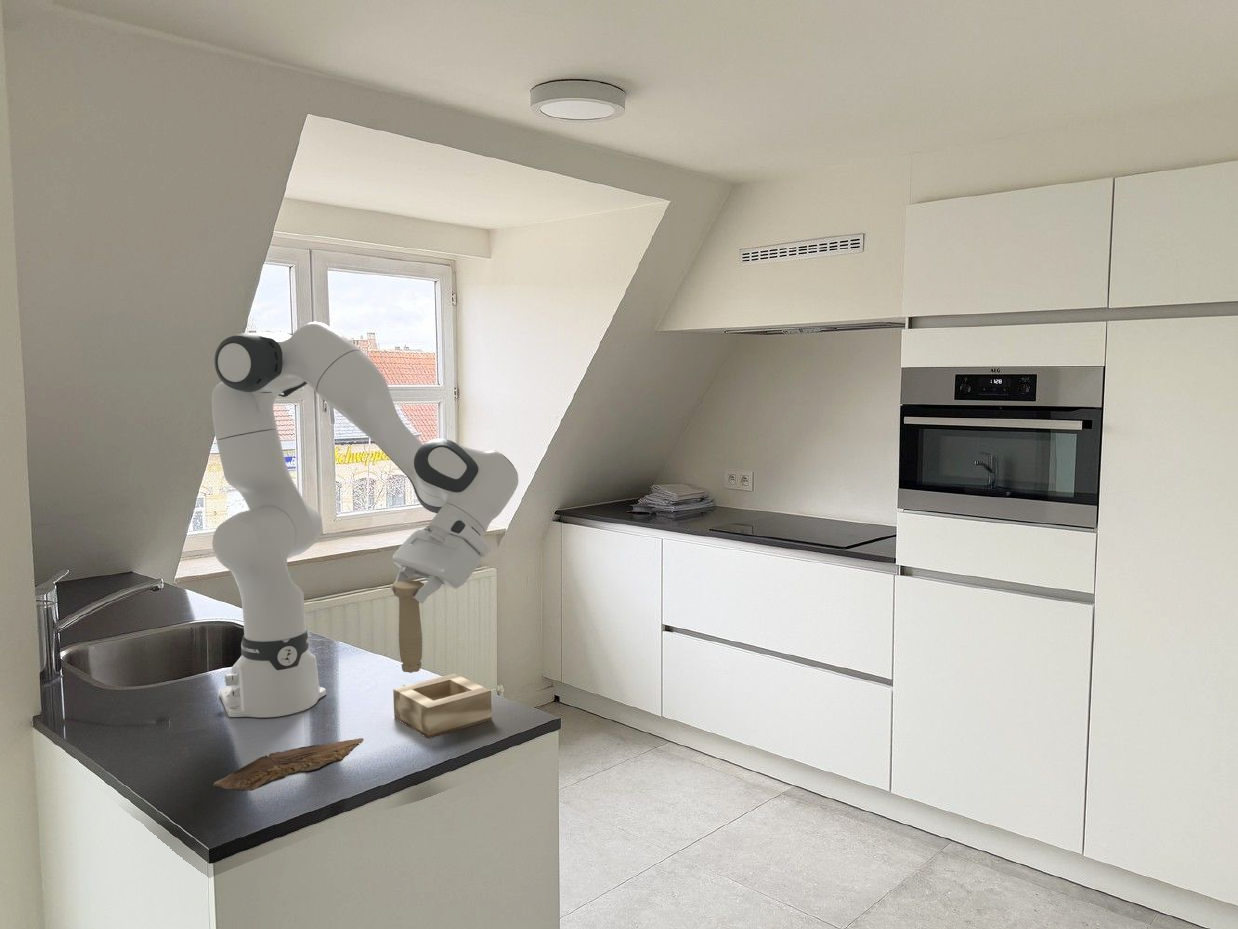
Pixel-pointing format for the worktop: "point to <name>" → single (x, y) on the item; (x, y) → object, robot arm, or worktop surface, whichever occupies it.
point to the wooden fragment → (286, 764)
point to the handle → (409, 625)
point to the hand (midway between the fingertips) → (405, 596)
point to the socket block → (442, 705)
